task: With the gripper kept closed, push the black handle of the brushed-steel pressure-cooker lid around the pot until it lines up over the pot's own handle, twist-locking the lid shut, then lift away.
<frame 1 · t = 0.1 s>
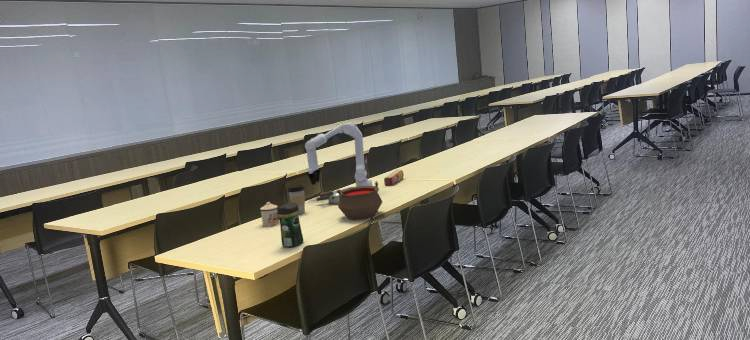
hand: (315, 183, 342), 10 cm above the table, fingers open, 7 cm apart
lid: (334, 192, 327), point 6 cm above the table, hinge at 30.0°
teacup with lid: (273, 224, 297), on the table
snack package: (394, 183, 369), on the table
brown cauldron: (361, 216, 291), on the table
pot: (340, 201, 330), on the table
coffee jar: (292, 245, 255), on the table
coffee cup: (299, 213, 313), on the table
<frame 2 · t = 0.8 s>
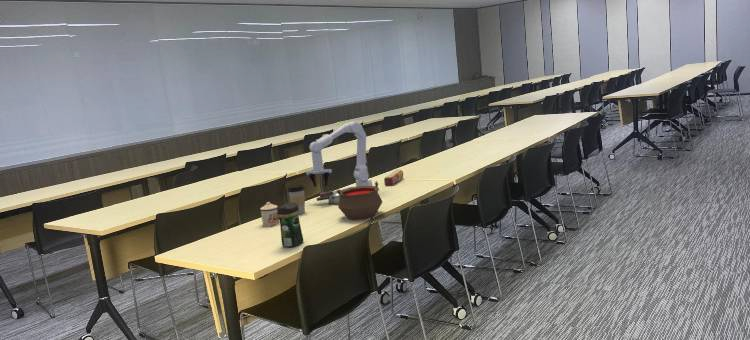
hand: (320, 186, 330), 10 cm above the table, fingers open, 6 cm apart
nothing on the table moved.
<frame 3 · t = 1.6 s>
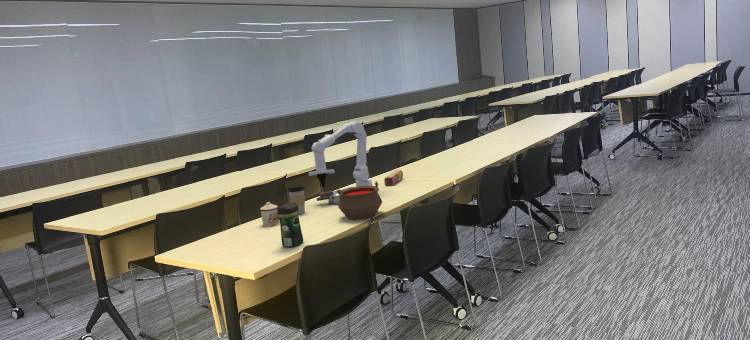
hand: (323, 186, 327), 10 cm above the table, fingers closed
nothing on the table moved.
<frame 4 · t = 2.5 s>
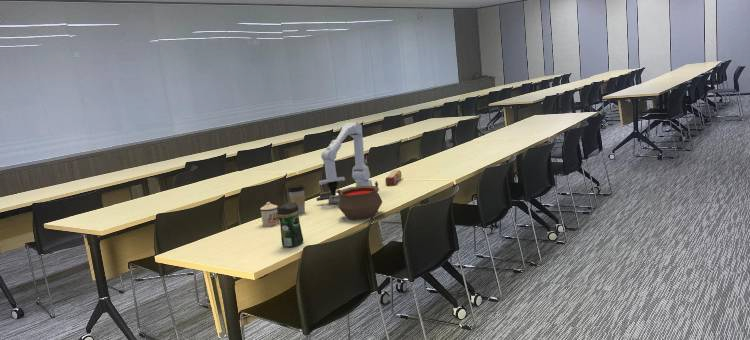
hand: (333, 195, 319), 6 cm above the table, fingers closed
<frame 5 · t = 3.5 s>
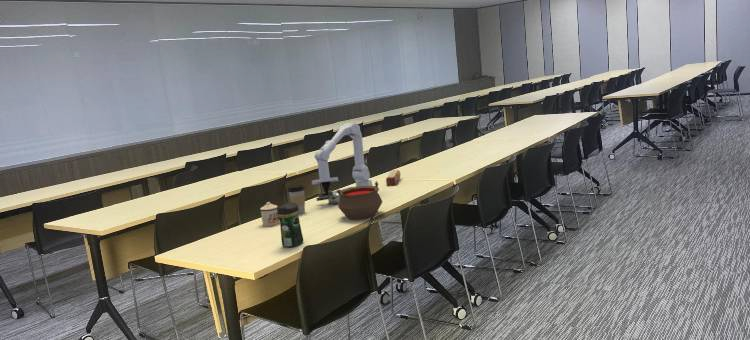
hand: (327, 195, 321), 6 cm above the table, fingers closed, pressing on lid
lid: (334, 192, 327), point 6 cm above the table, hinge at 25.5°, touching gripper
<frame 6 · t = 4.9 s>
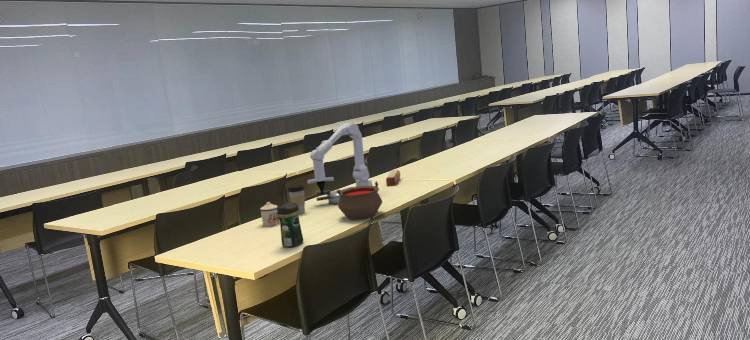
hand: (322, 194, 325), 6 cm above the table, fingers closed, pressing on lid
lid: (333, 191, 328), point 6 cm above the table, hinge at -1.6°, touching gripper
everything else where it was.
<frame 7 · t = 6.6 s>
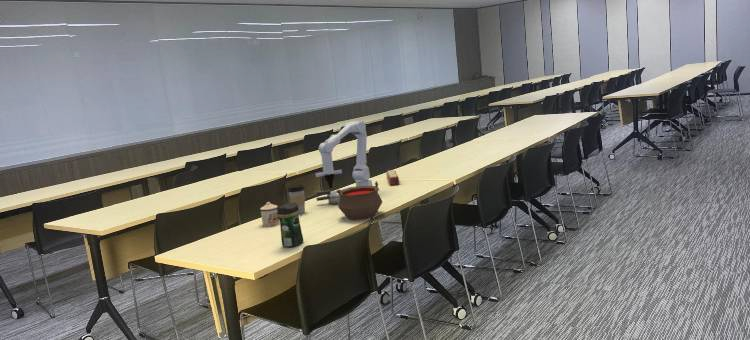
hand: (330, 187, 323), 10 cm above the table, fingers closed
lid: (333, 191, 328), point 6 cm above the table, hinge at -2.0°
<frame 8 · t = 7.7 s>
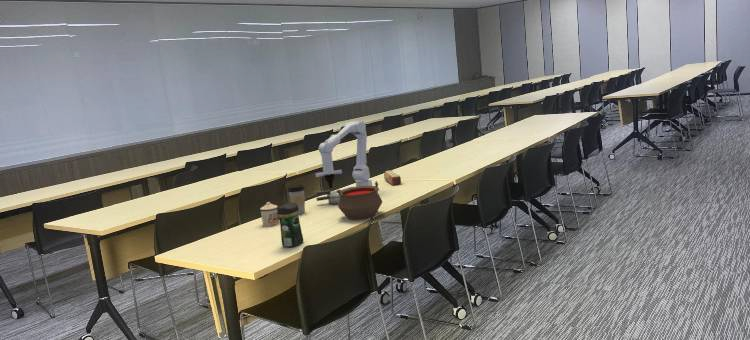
hand: (330, 187, 323), 10 cm above the table, fingers closed
at the end: lid at -2° (first picture: +30°); lid touching nothing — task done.
